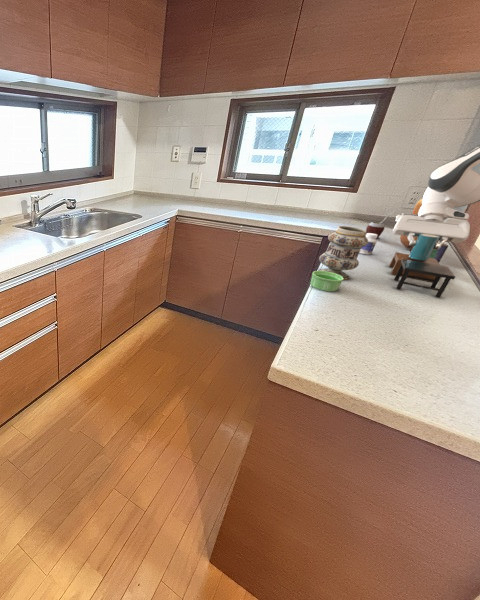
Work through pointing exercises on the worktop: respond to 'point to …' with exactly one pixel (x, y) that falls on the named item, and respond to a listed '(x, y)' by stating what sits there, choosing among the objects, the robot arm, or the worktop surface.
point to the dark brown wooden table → (424, 269)
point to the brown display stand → (399, 256)
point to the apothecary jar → (343, 250)
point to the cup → (424, 247)
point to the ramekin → (326, 280)
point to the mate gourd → (376, 227)
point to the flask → (438, 252)
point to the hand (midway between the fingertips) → (424, 246)
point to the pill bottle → (369, 244)
